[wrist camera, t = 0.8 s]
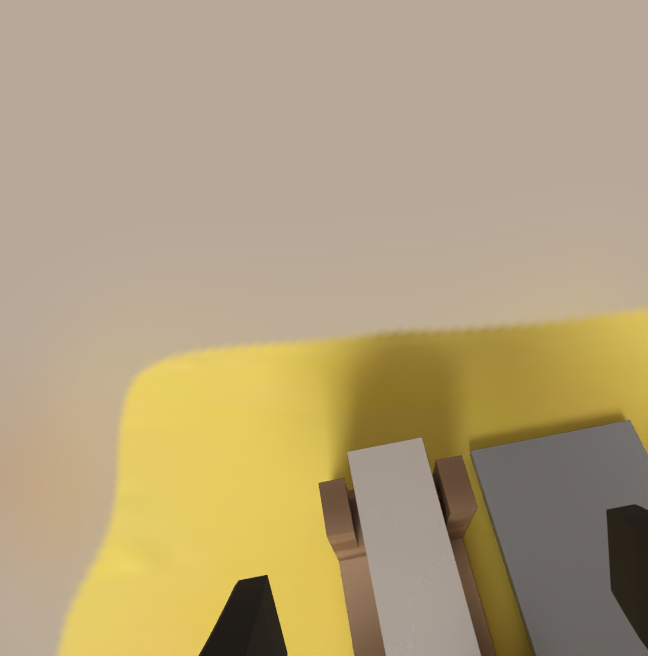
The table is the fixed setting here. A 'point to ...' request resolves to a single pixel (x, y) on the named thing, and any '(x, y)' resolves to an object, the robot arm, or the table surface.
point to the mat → (565, 532)
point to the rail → (410, 553)
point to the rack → (354, 562)
